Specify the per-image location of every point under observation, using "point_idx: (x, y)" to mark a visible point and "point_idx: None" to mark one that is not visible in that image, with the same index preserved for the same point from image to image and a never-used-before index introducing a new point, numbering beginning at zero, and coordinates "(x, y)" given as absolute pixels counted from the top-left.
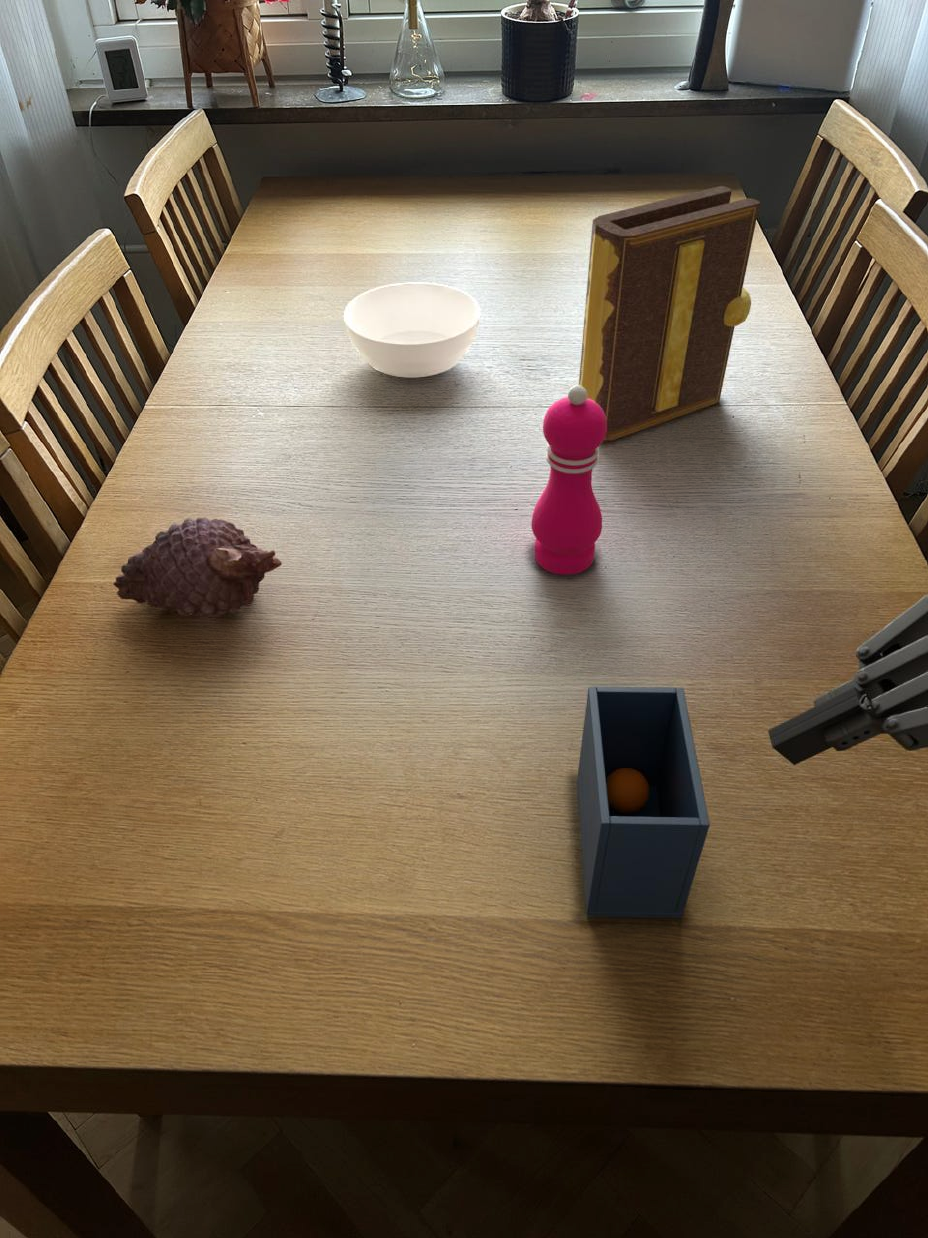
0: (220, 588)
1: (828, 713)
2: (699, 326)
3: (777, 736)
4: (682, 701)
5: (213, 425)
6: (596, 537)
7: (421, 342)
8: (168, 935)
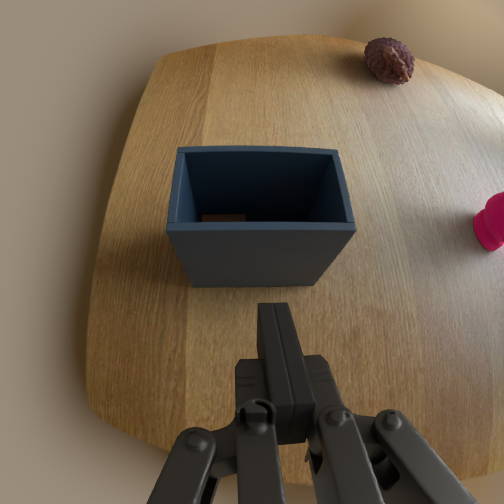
0: (378, 58)
1: (278, 362)
2: None
3: (271, 308)
4: (335, 226)
5: (472, 92)
6: (501, 237)
7: None
8: (199, 72)
